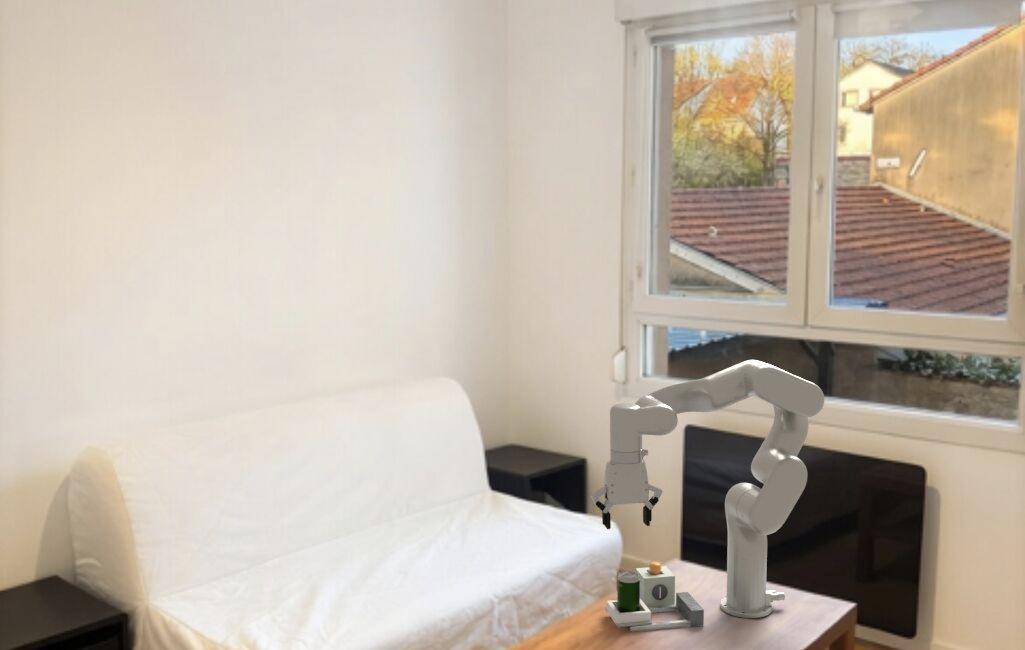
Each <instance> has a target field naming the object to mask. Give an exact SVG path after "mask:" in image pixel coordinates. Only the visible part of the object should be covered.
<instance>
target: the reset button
mask: <svg viewBox="0 0 1025 650" xmlns="http://www.w3.org/2000/svg"><path fill="white" fill-rule="evenodd" d="M661 566H662V563H661V562H659V561H651V562H649V564H648V567H649V574H651V575H661Z"/></svg>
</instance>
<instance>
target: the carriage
mask: <svg viewBox="0 0 1025 650" xmlns="http://www.w3.org/2000/svg"><path fill="white" fill-rule="evenodd" d="M605 610H606V612H607V613H608V615H609V617H610V618H611V620H612V621H613V622H614V624H615V625H616V627H617V628H623V627H624V628H625V627H629V626H635V625H647V624H652V623H653V622H652V613H651V611H650V610H649V609H648V608H647V606H646V605H645V604H644V602H643V601H642V600H641V599H640V611H637V612H625V613H619V612H618V610H617V599H615V600H612V599H611V600H606V607H605Z"/></svg>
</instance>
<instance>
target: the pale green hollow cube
mask: <svg viewBox="0 0 1025 650" xmlns="http://www.w3.org/2000/svg"><path fill="white" fill-rule="evenodd" d="M635 572H637V573H638V574H639V578H640V599H641V600H642V601H643V602H644V604H645V605H646V606H647V607H651V606H663V605H675V604H676V593H675V592H676V576H675V574H674V573H673V572H672V571H671V570H670V569H669V568H668V567H667V566H666V565H661V575H651V574H649V566H648V567H647V566H646V567H636V568H635Z"/></svg>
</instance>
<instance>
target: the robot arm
mask: <svg viewBox="0 0 1025 650" xmlns="http://www.w3.org/2000/svg"><path fill="white" fill-rule="evenodd" d="M753 397H755V398H756V399H759V400H762V401H764V402H766V403H768V404H771V405H772V406H773V410H774V411H773V412H774V416H773V417H774V419H773V423H772V426H771V428H770V429H769V432H768V433H767V435H766V437H765V439H764V440H763V442H762V443H761V445H760V448H758V451H757V452H756V454H755V455H754V457H753V459H752V462H751V464H750V470H751V471H750V472H751V473H752V476H753V477H754V478H755V479H756V480H757V481H759V482H760V483H762V484H763V486H762V488H761V487H759V486H757V485H755V484H752V483H749V482H739V483H736V484H734V485H732V486H731V488H730V489H728V491H727V493H726V495H725V500H724V512H725V518H726V525H727V526H726V528H727V557H726V561H727V562H726V596H724V597H722V598H721V599H720V601H719V602H720V603H719V607H720V609H721V610H722V611H723V612H725V613H726V614H728V615H731V616H734V617H739V618H745V619H759V618H763V617H767V616H768V615H770V614H771V613H772V611H773V605H772V603H773V602H774V601H776V602H777V601H785V597H786V595H785V592H782V591H781V592H776V590H774V589H769V590H767V568H768V567H767V561H768V559H767V558H768V535H771V534H773V533H776V532H777V531H778V530H779V529H781V528H782V527H783V525H784V524H785V523H786V521H787V519H788V518H789V516H790V514H791V513H792V512H793V509H794V508H795V505H796V504H797V502H798V500H799V499H800V497H801V495H802V494H803V492H804V490H805V488H806V485H807V482H808V469H807V466H806V465H805V463H804V462H803V461H802V459H800V458H799V457H798V455H799V454H800V451H801V449H802V448H803V445H804V443H805V442H806V439H807V436H808V432H809V418H811V417H814V416H816V415H817V414H819V413H820V412H821V411H822V409H823V408H824V406H825V395H824V392H823V390H822V389H821V388H820V387H819V385H817V384H815V383H814V382H812V381H809V380H806V379H804V378H802V377H800V376H797V375H795V374H792V373H790V372H788V371H785V370H784V369H781V368H779V367H777V366H774V365H772V364H770V363H766V362H764V361H761V360H757V359H748V360H744V361H741V362H739V363H736V364H733V365H732V366H730V367H729V366H728V367H727V368H724V369H722V370H720V371H717V372H715V373H712V374H710V375H708V376H705V377H703V378H698V379H693V380H689V381H686V382H680V383H677V384H671V385H668V386H665V387H663V388H660V389H657V390H655V391H653V392H650V393H647V394H646V395H643V396H642V397H640V398H638V399H637V401H636V402H635V403H627V402H626V403H625V402H623V403H616V404H614V405H612V406H611V407H610V410H609V440H610V441H609V444H610V445H609V446H610V448H609V449H610V451H609V453H610V454H609V455H610V456H609V457H610V458H609V459H610V460H609V459H608V460H607V461H606V464H605V471H604V472H605V473H604V482H603V486H602V487H601V488H598V489H597V490H595V491H593V492H592V493H591V494H590V497H591V499H592V501H593V502H594V505H596V507H597V508H598V509H599V510H601V514H602V516H601V517H602V518H601V519H602V520H601V521H602V525H603V526H604V527H605V528H606V529H607V530H610V529H611V518H612V517H611V513H610V510H611V509H612V507H613V506H618V505H619V506H620V505H632V504H644V506H643V507H642V522H643V524H644V525H645V526H646V527H651V526H650V525H651V522H652V521H653V519H652V511H653V509H654V507H655V505H656V504H658V503H659V500H660V498H661V496H662V494H663V490H662V488H660V487H658V486H655V485H653V484H651V483H649V477H648V472H647V471H648V470H647V466H646V462H645V459H644V457H647V456H649V450H648V449H644V448H643V435H644V436H657V437H658V436H661V437H662V436H666V435H669V434H671V433H672V432H674V430H676V427H677V425H678V419H679V418H678V415H679V414H684V413H691V412H692V413H693V412H694V413H713V412H718V411H721V410H722V409H725V408H727V407H731V406H732V405H735V404H737V403H739V402H741V401H742V402H743V401H744V400H747V399H749V398H753ZM650 491H651V492H653V495H652V496H651V497H649V496H650ZM602 496H603V498H604V502H603V503H602V502H601V501H600V499H599V498H600V497H602ZM649 498H650V499H649Z"/></svg>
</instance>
